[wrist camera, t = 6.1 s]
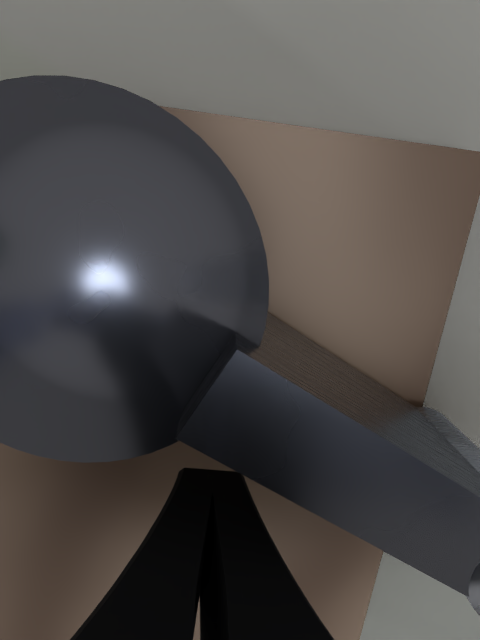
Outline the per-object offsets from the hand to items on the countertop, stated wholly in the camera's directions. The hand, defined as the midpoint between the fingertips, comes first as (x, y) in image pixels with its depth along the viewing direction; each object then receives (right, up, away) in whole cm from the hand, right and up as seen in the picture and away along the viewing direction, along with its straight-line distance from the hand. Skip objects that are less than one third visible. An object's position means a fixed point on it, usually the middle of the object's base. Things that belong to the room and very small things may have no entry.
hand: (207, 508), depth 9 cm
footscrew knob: (+1, +4, 0) cm, 4 cm away
